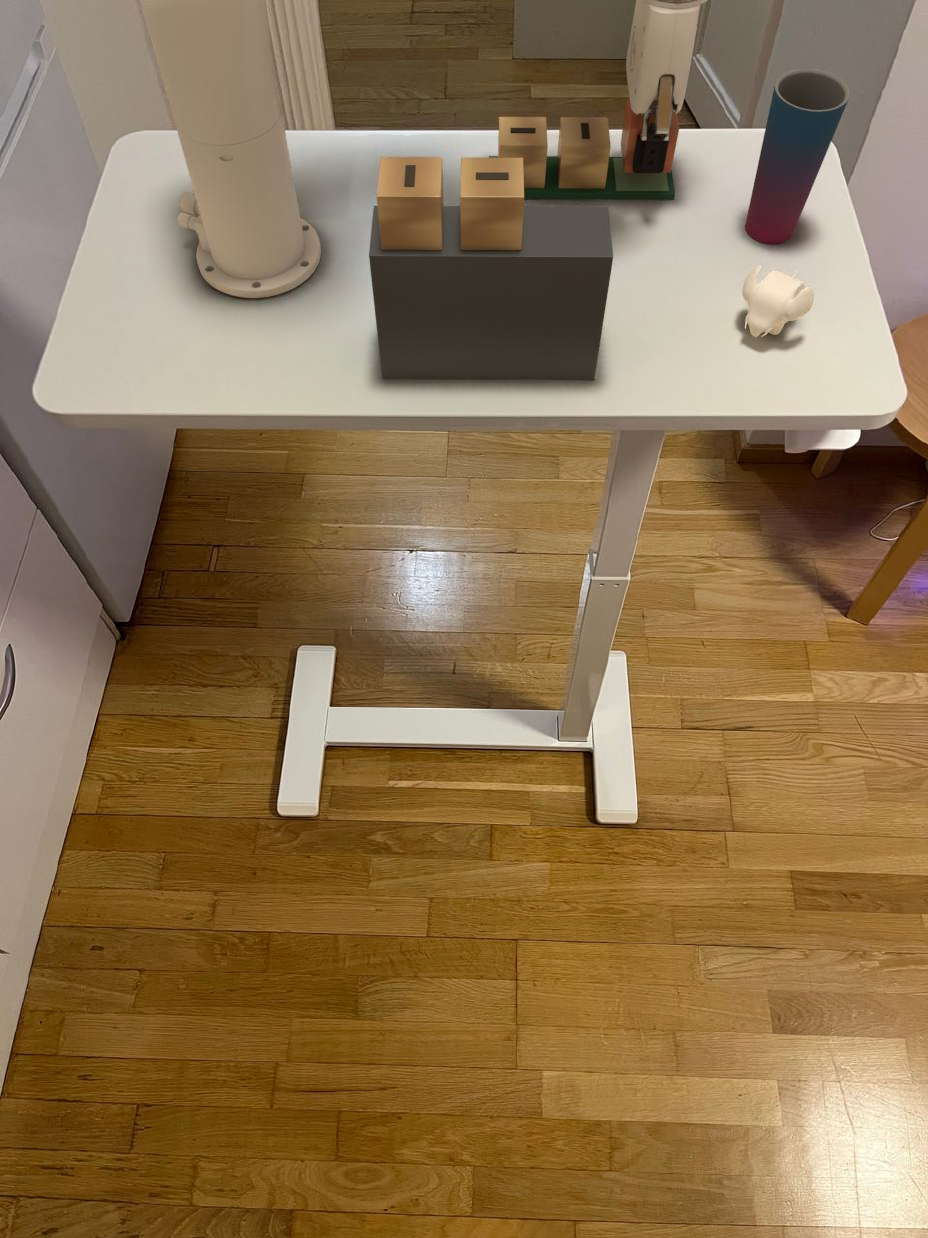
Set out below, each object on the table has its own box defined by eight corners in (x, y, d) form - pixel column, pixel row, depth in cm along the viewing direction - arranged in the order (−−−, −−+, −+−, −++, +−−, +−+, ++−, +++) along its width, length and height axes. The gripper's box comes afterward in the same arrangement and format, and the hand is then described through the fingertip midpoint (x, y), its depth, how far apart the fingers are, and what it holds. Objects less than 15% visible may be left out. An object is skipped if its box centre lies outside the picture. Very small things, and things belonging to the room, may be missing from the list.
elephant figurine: (716, 333, 94) (730, 284, 89) (755, 288, 98) (771, 238, 93) (779, 363, 92) (797, 315, 87) (816, 315, 96) (836, 266, 91)
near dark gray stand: (382, 378, 92) (362, 200, 75) (385, 330, 95) (368, 149, 78) (594, 380, 91) (621, 202, 75) (590, 331, 95) (616, 150, 78)
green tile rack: (488, 198, 105) (489, 148, 100) (488, 162, 108) (489, 111, 103) (674, 199, 105) (684, 149, 100) (668, 162, 108) (678, 112, 103)
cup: (801, 253, 100) (849, 114, 87) (734, 245, 101) (773, 106, 88) (802, 211, 104) (850, 72, 91) (738, 203, 104) (776, 64, 91)
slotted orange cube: (623, 172, 103) (630, 127, 98) (620, 143, 105) (626, 98, 101) (670, 172, 103) (679, 127, 98) (666, 143, 105) (674, 98, 101)
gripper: (627, -77, 92) (605, 106, 108) (641, 22, 84) (615, 206, 100) (706, -78, 92) (672, 106, 108) (728, 21, 84) (688, 206, 99)
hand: (645, 152), depth 104 cm, fingers closed on slotted orange cube, 5 cm apart
